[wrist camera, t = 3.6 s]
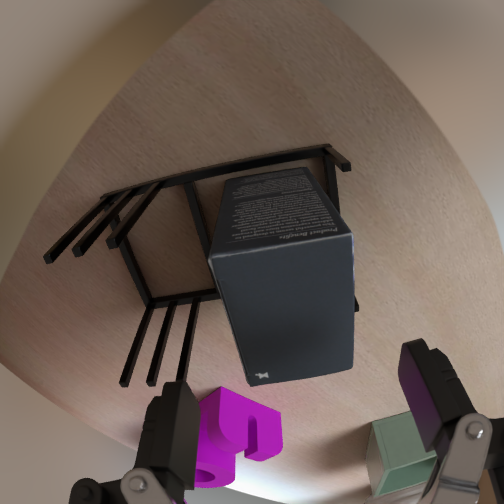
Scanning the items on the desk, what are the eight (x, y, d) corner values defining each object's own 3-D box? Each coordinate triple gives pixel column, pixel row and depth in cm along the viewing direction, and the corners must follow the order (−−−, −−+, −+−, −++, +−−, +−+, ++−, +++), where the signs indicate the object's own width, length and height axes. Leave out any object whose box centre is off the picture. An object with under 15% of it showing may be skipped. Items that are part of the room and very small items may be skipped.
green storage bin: (459, 393, 35) (478, 436, 28) (438, 436, 42) (450, 472, 35) (371, 421, 36) (384, 470, 30) (364, 458, 43) (372, 497, 36)
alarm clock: (485, 451, 52) (508, 516, 34) (454, 466, 54) (475, 534, 35) (511, 414, 43) (545, 493, 24) (476, 433, 44) (507, 518, 25)
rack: (329, 143, 20) (380, 184, 12) (342, 271, 25) (377, 355, 17) (103, 194, 21) (38, 256, 14) (149, 304, 26) (118, 388, 18)
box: (319, 264, 24) (354, 371, 15) (245, 276, 25) (244, 389, 16) (308, 163, 21) (357, 233, 11) (223, 177, 21) (203, 258, 12)
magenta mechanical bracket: (208, 455, 40) (205, 491, 35) (148, 432, 37) (140, 470, 32) (285, 414, 34) (289, 460, 29) (215, 383, 31) (210, 434, 26)
